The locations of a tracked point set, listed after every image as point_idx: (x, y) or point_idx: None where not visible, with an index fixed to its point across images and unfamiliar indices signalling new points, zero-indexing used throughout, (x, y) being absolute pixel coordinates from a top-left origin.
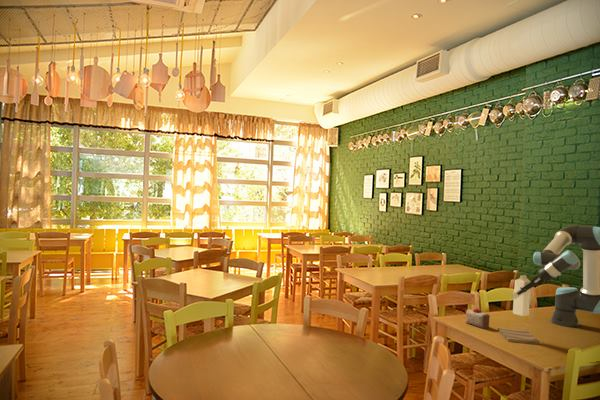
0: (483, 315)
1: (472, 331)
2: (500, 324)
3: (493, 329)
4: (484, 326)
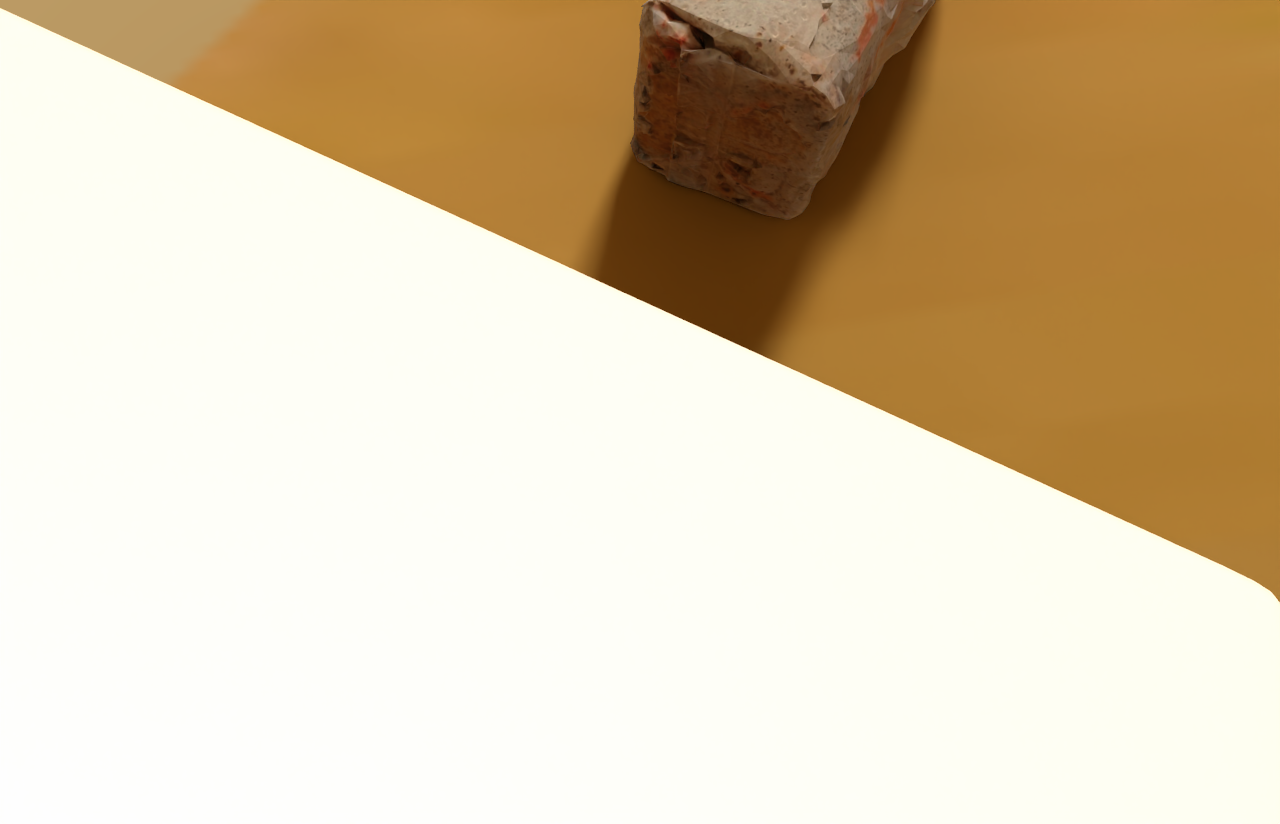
0: (680, 18)
1: (340, 63)
2: (1206, 346)
3: (746, 305)
4: (668, 158)
